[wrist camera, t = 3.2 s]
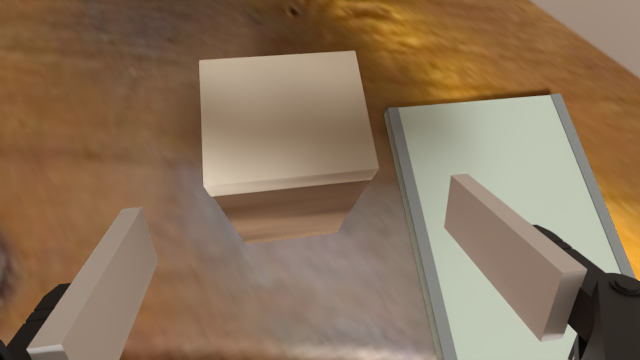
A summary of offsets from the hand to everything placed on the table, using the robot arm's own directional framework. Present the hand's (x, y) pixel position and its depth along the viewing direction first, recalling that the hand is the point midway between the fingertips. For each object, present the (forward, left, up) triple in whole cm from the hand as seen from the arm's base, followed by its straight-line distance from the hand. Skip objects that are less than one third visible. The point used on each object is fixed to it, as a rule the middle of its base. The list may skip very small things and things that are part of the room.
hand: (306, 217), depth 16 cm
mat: (0, +14, -9) cm, 17 cm away
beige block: (-3, -1, -9) cm, 9 cm away
